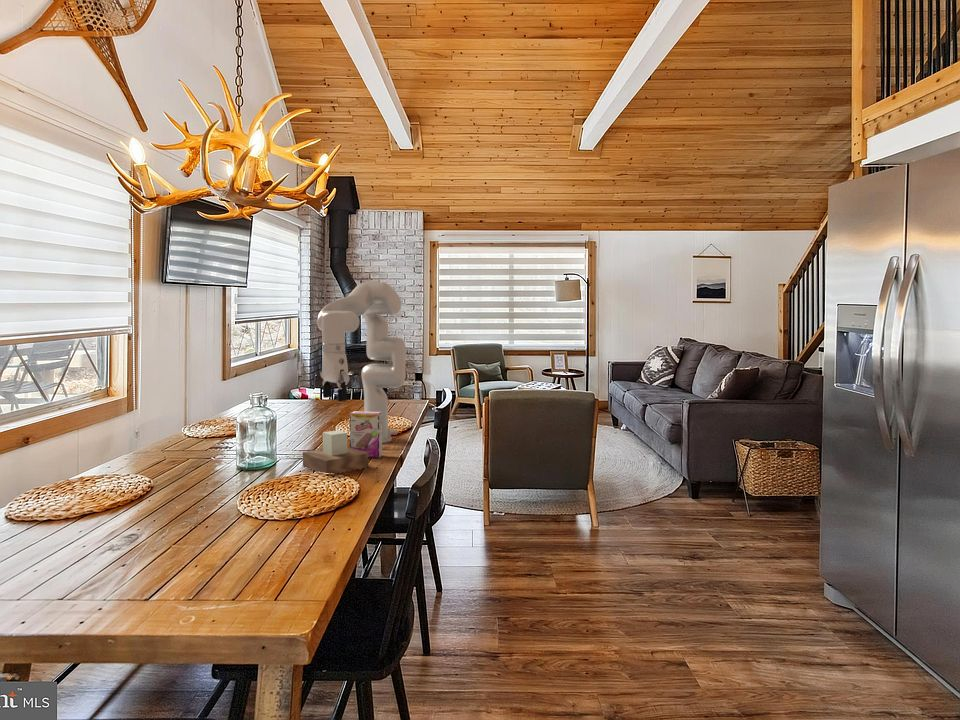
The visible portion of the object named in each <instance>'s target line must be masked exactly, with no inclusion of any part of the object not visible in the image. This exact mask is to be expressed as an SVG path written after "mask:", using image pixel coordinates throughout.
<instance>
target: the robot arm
mask: <svg viewBox="0 0 960 720" xmlns="http://www.w3.org/2000/svg"><path fill="white" fill-rule="evenodd" d="M401 308H402V300H401V298H400V294H399V293H397V291H396V290H395V289H394V288H393V287H392V286H391V285H390V284H389V283H387V282H384V281H383V282H378V281H375V282H374V281H373V282H372V281H369V282H367V281H366V282H361V283H358V284H357V285H356V286H355V288H354V289H352V291H351V292H350V293H349V294H348V295H347V296H344V297H342V298H339V299H336V300H333V301H332V302H331V301H330V302H329V303H327V304H326V305H325V306H324V307H323V308H322V309H321V310H320V312H318V316H317V319H316V325H317V327H318V329H319V330H320V331H321V339H322V340H321V345H322V349H321V351H322V352H321V353H322V361H321V363H322V364H321V371H320V373H319V375H320V378H321V379H320V380H321V385H322V386H321V387H322V396H323V397H322V398H324V399H326V398H332V397H333V385H332V383H333V384H336V385H337V387H338V388H337V401H338V402H345V401H348V387H349V382H350V376H349V364H348V360H347V359H348V357H347V354H346V333H354V332H355V331H357V329H358V328H359V326H360V318H359V317H360V316H363V319H364V320H365V323H366V348H365V349H366V351H365V352H366V356H367V358H368V359H369V360H372V361H387V362H388V361H389V362H390V361H392V363H369V364H366V365H364V366H363V367H362V369H361V372H360V373H361V375H360V376H361V382H362V387H363V408H364V409H363V411H366V412H382V444H387V443H389V442H392V440H393V437H392V435H397V434H398V432H399V430H398V428H396V429H395V428H394V429H391V428H389V416H388V415H389V408H388V407H389V400H388V399H389V398H388V395H387V393H386V391H385V390H384V388H390V389H391V388H393V389H394V388H397V389H398V388H401V387H402V386H404V384H405V381H406V380H405V379H406V358H407V348H406V342H405V340H403V339H402V338H401V337H398V336H397V337H395V336H394V337H392V336H391V337H390V336H389V324H388V322H387V321H386V319H385V318H384V316H383V315H397V314H398V313H400V311H401Z"/></svg>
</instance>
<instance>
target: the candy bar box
mask: <svg viewBox="0 0 960 720" xmlns="http://www.w3.org/2000/svg"><path fill="white" fill-rule="evenodd" d="M349 447H350V448H353V449H357V450H360V451H363V452H366V453H368V457H369V458H371V459H372V458H375V459H379V458H381V457H382V456H383V443H382V412H366V411H364V410H363V411H362V410H361V411H360V410H357V411H356V410H353V411H352V412H350V413H349ZM369 458H368V459H369Z"/></svg>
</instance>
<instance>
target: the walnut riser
mask: <svg viewBox="0 0 960 720" xmlns="http://www.w3.org/2000/svg"><path fill="white" fill-rule="evenodd" d="M347 451H348V453H344V454H339V455H333V456H331V455H328V454H326V453H323V448H320V449H314V450H309V451H308V450H307V451H303V452H302V467H303V466H304V467H303V468H305V467H307V468H310V469H313V470H315V471H320V472H325V473H336V474H335V475H339V474H343V473H342V472H344V473H347V472H346V471H349V472H352V471H351V470H354V471H357V470H356V469H359V470H363V469H362V468H364V469H367V467H368V468H369V458H368V453H366V452H363V451H360V450H357V449H353V448H350V446H347ZM307 468H306V469H307ZM310 469H309V470H310ZM315 471H314V472H315ZM338 473H339V474H338Z"/></svg>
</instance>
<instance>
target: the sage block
mask: <svg viewBox="0 0 960 720" xmlns="http://www.w3.org/2000/svg"><path fill="white" fill-rule="evenodd" d="M347 447H348V432H346V431H342V430H339V429H338V430H337V429H336V430H330V431H323V432H322V449H323V453H326V454H328V455H331V456H333V455H339V454H344V453H348V451H347Z"/></svg>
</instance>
